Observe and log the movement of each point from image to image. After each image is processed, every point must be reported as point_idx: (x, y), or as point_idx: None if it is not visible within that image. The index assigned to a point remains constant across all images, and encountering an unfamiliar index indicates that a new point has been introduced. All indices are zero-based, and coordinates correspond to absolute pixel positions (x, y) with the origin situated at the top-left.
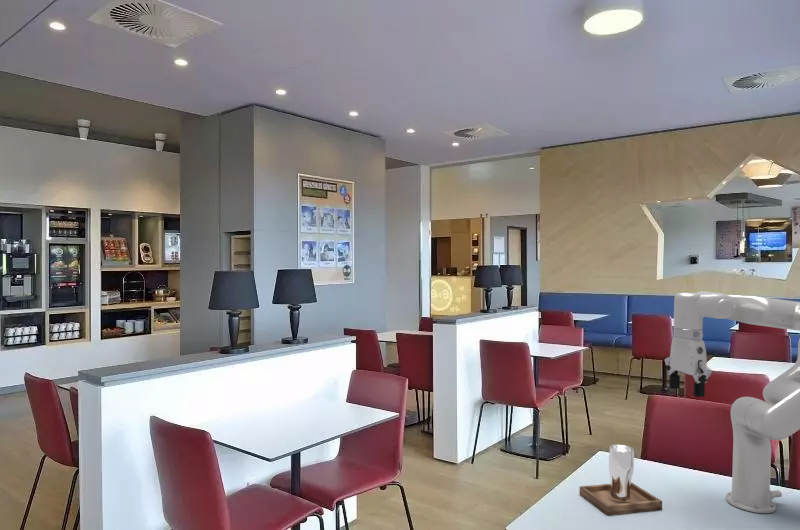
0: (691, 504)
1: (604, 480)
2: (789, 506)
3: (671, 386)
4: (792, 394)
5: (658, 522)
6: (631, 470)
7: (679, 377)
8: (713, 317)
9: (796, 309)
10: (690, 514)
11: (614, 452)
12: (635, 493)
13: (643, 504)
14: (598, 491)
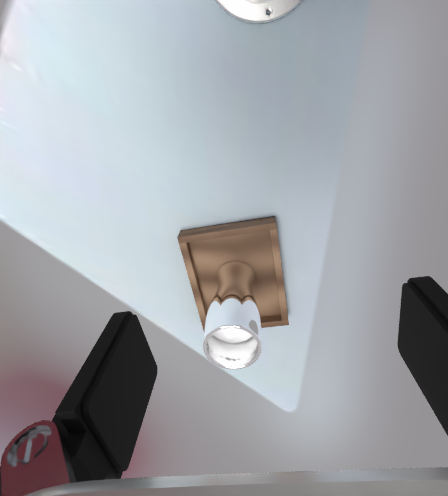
0: (252, 135)
1: (136, 259)
2: None
3: (152, 382)
4: None
5: (321, 248)
6: (257, 307)
7: (95, 395)
8: None
9: None
10: (299, 168)
11: (244, 362)
12: (213, 240)
13: (280, 260)
14: (205, 299)
